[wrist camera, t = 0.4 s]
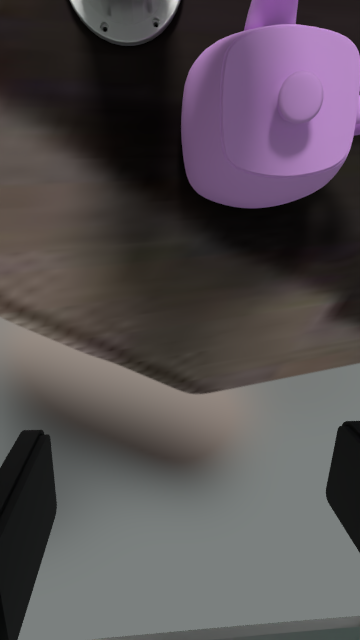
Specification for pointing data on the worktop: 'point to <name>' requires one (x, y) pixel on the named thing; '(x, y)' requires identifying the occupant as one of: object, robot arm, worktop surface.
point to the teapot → (270, 110)
